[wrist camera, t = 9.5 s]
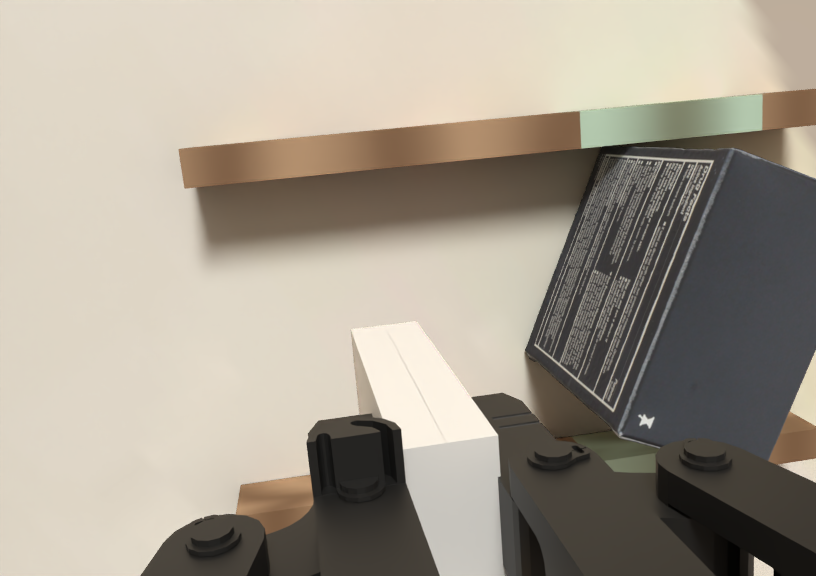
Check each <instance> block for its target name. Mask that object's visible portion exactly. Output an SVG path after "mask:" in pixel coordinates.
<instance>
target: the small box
mask: <svg viewBox="0 0 816 576" xmlns="http://www.w3.org/2000/svg"><path fill="white" fill-rule="evenodd" d="M815 350H816V179H815V178H812V177H809V176H807V175H805V174H802V173H799V172H797V171H794V170H792V169H789V168H787V167H784V166H782V165H779V164H776V163H773V162H771V161H768V160H765V159H763V158H760V157H758V156H755V155H752V154H750V153H747V152H745V151H743V150H739V149H736V148H720V149H716V150H712V149H703V150H698V149H682V148H657V147H632V146H629V147H622V146H620V147H619V146H616V145H612V146H602V148H601V150H600V153H599V156H598V158H597V161H596V163H595V166H594V169H593V171H592V173H591V176H590V179H589V182H588V184H587V187H586V190H585V192H584V195H583V198H582V200H581V203H580V205H579V208H578V211H577V213H576V215H575V219H574V221H573V224H572V226H571V229H570V232H569V234H568V237H567V240H566V243H565V245H564V248H563V251H562V253H561V255H560V258H559V261H558V264H557V267H556V269H555V271H554V274H553V277H552V280H551V282H550V285H549V287H548V290H547V293H546V296H545V298H544V301H543V303H542V306H541V309H540V311H539V314H538V317H537V320H536V322H535V325H534V328H533V331H532V333H531V336H530V339H529V342H528V344H527V347H526V349H525V351H526V353H527V355H528V356H529V358H530V359H531V360H532V361H534V362H538V363H539V364H540V365H541V366H542V367H543V368H545V369H546V370H547V371H548V372H549V373H550V374H551V375H552V376H553V377H554V378H555V379H557V380H558V381H559V382H560V383H561V384H562V385H563V386H565V387H566V388H567V389H568V390H569V391H570V392H571V393H573V394H574V395H575V396H576V397H577V398H578V399H580V400H581V401H582V402H583V403H584V404H585V405H586V406H587V407H588V408H589V409H591V410H592V411H593V412H594V413H595V414H596V415H598V416H599V417H600V418H601V419H602V420H603V421H604V422H606V423H607V424H608V425H609V426H610V428H611V429H612V430H613V432H614V433H615V434H616V435H617V436H618V437H619V438H621V439H624V440H629V441H633V442H636V443H639V444H644V445H647V446H651V447H654V448H658V449H660V448H661V447H663V446H665V445H667V444H669V443H671V442H677V441H682V440H684V439H687V438H696V440H698V438H707V439H710V440H712V441H717V442H723V443H727V444H730V445H733V446H736V447H738V448H741V449H743V450H745V451H748V452H750V453H752V454H754V455H756V456H758V457H761V458H763V459H765V460H767V461H769V458H770V456H771V453H772V451H773V449H774V446H775V444H776V442H777V440H778V437H779V435H780V433H781V430H782V428H783V425H784V423H785V421H786V418H787V416H788V413H789V411H790V409H791V406H792V404H793V402H794V399H795V397H796V395H797V392H798V390H799V388H800V385H801V383H802V381H803V378H804V376H805V374H806V371H807V369H808V367H809V364H810V362H811V360H812V357H813V355H814V353H815Z"/></svg>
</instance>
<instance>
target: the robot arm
mask: <svg viewBox="0 0 816 576" xmlns="http://www.w3.org/2000/svg"><path fill="white" fill-rule="evenodd" d="M351 336H352V346H353V356H354V366H355V375H356V385H357V395H358V405H359V414H360V415H356V416H349V417H342V418H335V419H328V420H321V421H318V422H317V423H316V424H315V426H314V427H313V428H312V429H311V430H310V432H309V433H308V440H307V450H308V459H309V467H310V475H311V484H312V492H313V501H314V502H313V505H312V507H311V509H310V510H309V512H308V513H307V514H305V515H304V516H303V517H302V518H301V519H300V520H298V521H296V522H295V523H293V524H291V525H290V526H288V527H285V528H283V529H280V530H278V531H275V532H273V533H270V534H267V535H266V532H265V528H264V527H263V525H262V524H261V523H260V521H259V520H257V519H254V518H252V517H249V516H246V515H235V514H226V515H219V516H218V515H211V516H207V517H204V519H202V518H200V519H197V520H195V521H193V522H191V523H190V524H188V525H186V526H184V527H182V528H181V529H179V530H177V531H175V532H174V533H173V534H172V535H171V536H170V537H169V538H168V539H167V540H166V541H165V542H164V543H163V544H162V546H161V547H160V548H159V550H158V551H157V553H156V554H155V556H154V557H153V559H152V560H151V561H150V563H149V564H148V566H147V567H146V569H145V570H144V571H143V573H142V574H141V576H507V575H506V572H507V573H508V575H509V576H754V556H755V557H756V558H758V559H759V560H761V561H763V562H764V563H766V564H768V565H769V566H771V567H772V568H773V569H774V576H816V483H815V482H813V481H811V480H808V479H806V478H804V477H802V476H800V475H798V474H795V473H793V472H791V471H789V470H787V469H785V468H782V467H780V466H778V465H776V464H774V463H771V462H769V461H767V460H765V459H763V458H761V457H758V456H756V455H754V454H752V453H750V452H748V451H745V450H743V449H741V448H738V447H736V446H733V445H730V444H727V443H723V442H717V441H712V440H710V439H707V438H698V440H696V438H687V439H684V440H682V441H677V442H671V443H669V444H667V445H665V446H663V447H661V448H660V449H659V450H658V452H657V453H656V455H655V457H656V473H629V472H614V471H613V470H612V469H611V468H610V467H609V466H608V464H607V463H606V462H605V461H604V460H603V459H602V458H601V457H600V456H599V455H598V454H597V453H596V452H594V451H593V450H591V449H590V448H588V447H587V446H584V445H581V444H577V443H574V442H568V441H558V440H556V439H555V438H554V437H553V436H552V435H551V433H550V432H549V431H548V430H547V429H546V428H545V427H544V426H543V424H542V423H539V420H538V419H537V418H536V417H535V415H534V414H531V411H530V410H529V409H528V408H527V406H526V405H525V404H524V403H523V402H522V401H521V400H518V399H516V398H514V397H511V396H509V395H506V394H504V393H498V394H491V395H484V396H477V397H470V395H469V394H468V392H467V391H466V390H465V388H464V387H463V385H462V384H461V383H460V381H459V380H458V378H457V377H456V376H455V374H454V373H453V371H452V370H451V369H450V367H449V366H448V364H447V363H446V361H445V360H444V359H443V357H442V356H441V354H440V353H439V352H438V350H437V349H436V347H435V346H434V345H433V343H432V342H431V340H430V339H429V338H428V336H427V335H426V333H425V332H424V331H423V329H422V328H421V326H420V325H419V324H418V322H417V321H413V322H405V323H397V324H389V325H381V326H372V327H364V328H356V329H351Z"/></svg>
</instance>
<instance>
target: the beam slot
mask: <svg viewBox="0 0 816 576" xmlns="http://www.w3.org/2000/svg"><path fill="white" fill-rule="evenodd" d="M810 125H816V89H808V90H796V91H785V92H774V93H763V94H753V95H742V96H732V97H721V98H711V99H700V100H690V101H679V102H668V103H658V104H647V105H637V106H626V107H616V108H605V109H594V110H584V111H573V112H563V113H552V114H542V115H531V116H520V117H510V118H499V119H489V120H478V121H468V122H457V123H447V124H436V125H425V126H415V127H404V128H394V129H383V130H373V131H362V132H351V133H341V134H330V135H320V136H309V137H299V138H288V139H277V140H267V141H256V142H246V143H235V144H225V145H214V146H204V147H193V148H184V149H179V155H180V162H181V168H182V175H183V181H184V188H195V187H205V186H215V185H225V184H234V183H244V182H254V181H264V180H274V179H284V178H294V177H304V176H314V175H324V174H334V173H344V172H354V171H363V170H373V169H383V168H393V167H403V166H413V165H423V164H433V163H443V162H453V161H463V160H473V159H483V158H492V157H502V156H512V155H522V154H532V153H542V152H552V151H562V150H572V149H582V148H592V147H602V146H612V145H621V144H631V143H641V142H651V141H661V140H671V139H681V138H691V137H701V136H711V135H721V134H731V133H741V132H750V131H760V130H770V129H780V128H790V127H800V126H810ZM556 440H558V441H568V442H574V443H577V444H581V445H584V446H587V447H588V448H590V449H591V450H593V451H594V452H596V453H597V454H598V455H599V456H600V457H601V458H602V459H603V460H604V461H605V462H606V463H607V464H608V466H609V467H610V468H611V469H612V470H613V471H614V472H629V473H656V457H655V455H656V453H657V452H658V450H659V449H658V448H654V447H651V446H647V445H644V444H639V443H636V442H633V441H629V440H624V439H621V438H619V437H618V436H617V435H616V434H615V433H614V432H613V430H612V431H605V432H598V433H591V434H585V435H578V436H571V437H564V438H557V439H556ZM815 458H816V426H814V425H812V424H811V423H809V422H807V421H805V420H804V419H802V418H800V417H798V416H797V415H795V414H793V413H791V412H790V411H789V413H788V416H787V418H786V421H785V423H784V425H783V428H782V430H781V433H780V435H779V437H778V440H777V442H776V444H775V446H774V449H773V451H772V453H771V456H770V458H769V462H771V463H774V464H783V463H789V462H796V461H802V460H808V459H815ZM313 502H314V501H313V492H312V484H311V475H306V476H299V477H292V478H286V479H279V480H272V481H265V482H258V483H252V484H245V485H241V487H240V493H239V499H238V505H237V511H236V515H246V516H249V517H252V518H254V519H257V520H259V521H260V523H261V524H262V525H263V527H264V528H265V532H266V535H267V534H270V533H273V532H275V531H278V530H280V529H283V528H285V527H288V526H290V525H291V524H293V523H295V522H296V521H298V520H300V519H301V518H302V517H303V516H304V515H305V514H307V513H308V512H309V510H310V509H311V507H312V505H313Z"/></svg>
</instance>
